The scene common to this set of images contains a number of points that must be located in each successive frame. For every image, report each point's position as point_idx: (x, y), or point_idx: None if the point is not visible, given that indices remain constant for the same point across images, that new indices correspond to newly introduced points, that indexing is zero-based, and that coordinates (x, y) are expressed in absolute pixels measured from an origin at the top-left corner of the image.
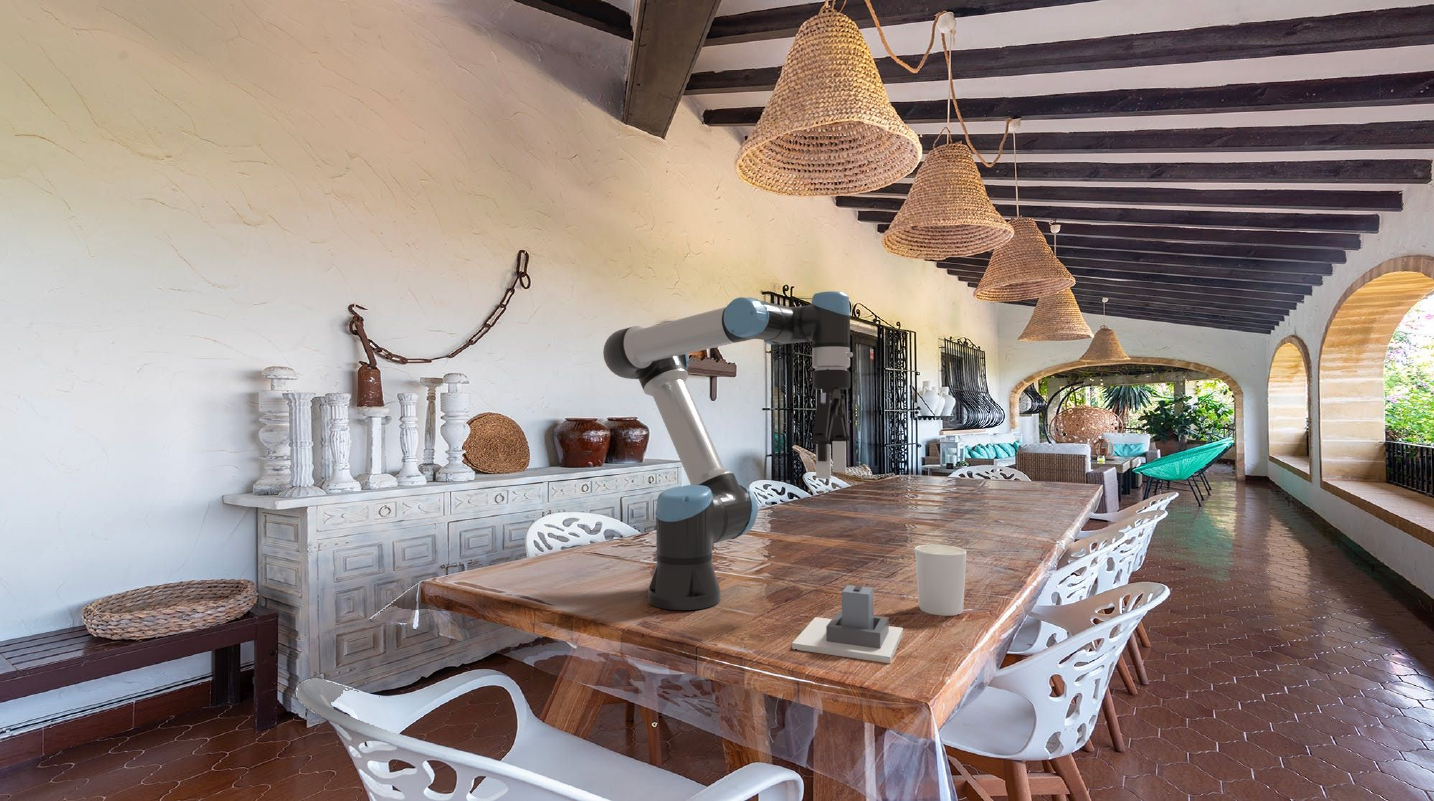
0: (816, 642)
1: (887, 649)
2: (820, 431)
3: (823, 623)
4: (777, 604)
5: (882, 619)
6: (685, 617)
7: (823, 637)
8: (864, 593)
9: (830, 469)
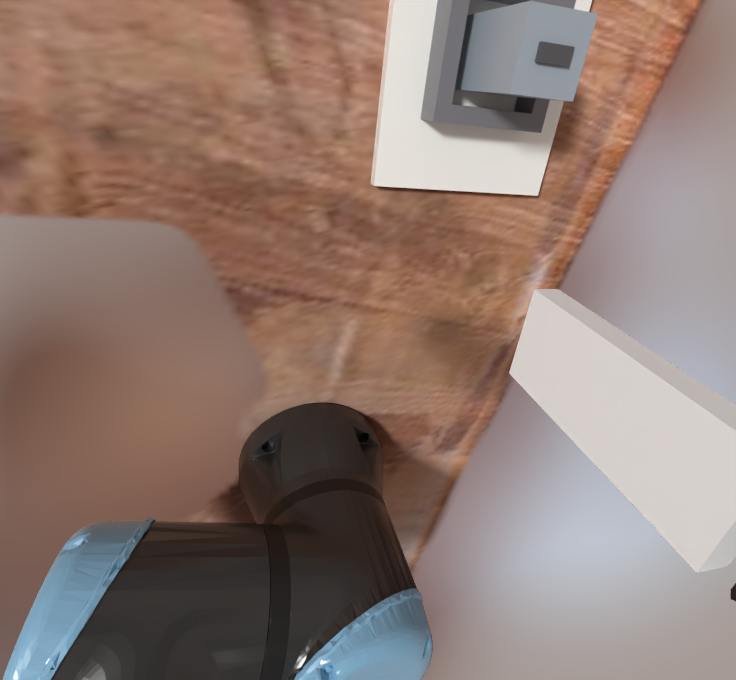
0: (531, 149)
1: None
2: None
3: (415, 157)
4: (264, 299)
5: None
6: (404, 412)
7: (502, 140)
8: (589, 28)
9: (585, 318)
